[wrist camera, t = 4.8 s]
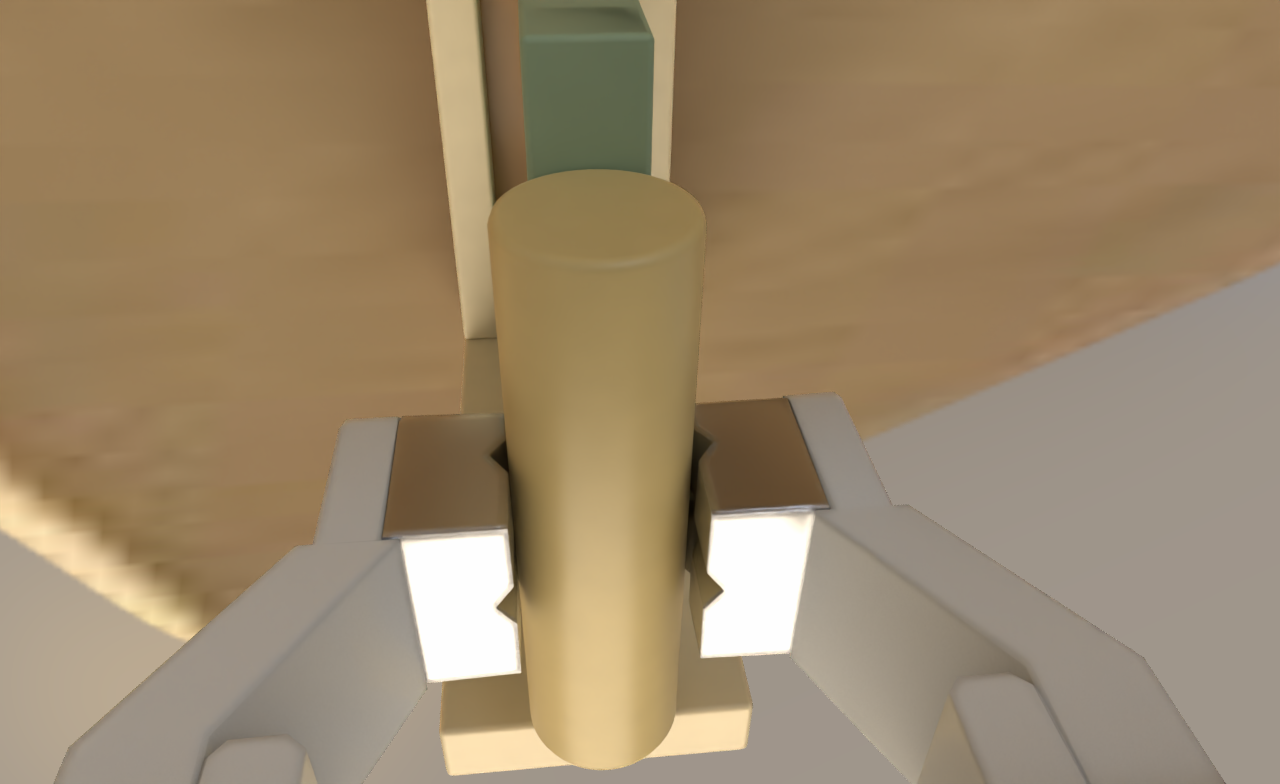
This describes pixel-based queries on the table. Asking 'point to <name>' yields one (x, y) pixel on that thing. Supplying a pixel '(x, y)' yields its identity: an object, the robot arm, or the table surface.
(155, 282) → the table surface
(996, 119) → the table surface
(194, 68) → the table surface
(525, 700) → the window frame
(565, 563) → the cylinder
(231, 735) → the robot arm
